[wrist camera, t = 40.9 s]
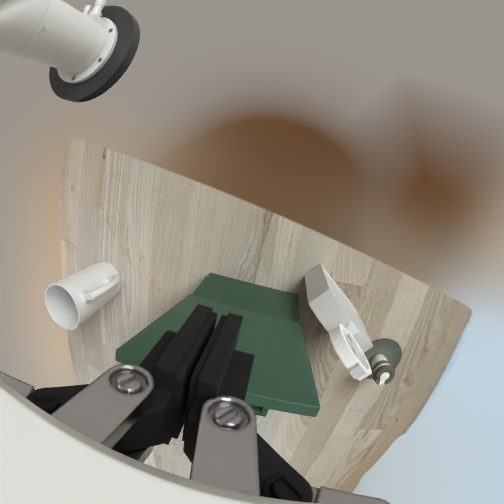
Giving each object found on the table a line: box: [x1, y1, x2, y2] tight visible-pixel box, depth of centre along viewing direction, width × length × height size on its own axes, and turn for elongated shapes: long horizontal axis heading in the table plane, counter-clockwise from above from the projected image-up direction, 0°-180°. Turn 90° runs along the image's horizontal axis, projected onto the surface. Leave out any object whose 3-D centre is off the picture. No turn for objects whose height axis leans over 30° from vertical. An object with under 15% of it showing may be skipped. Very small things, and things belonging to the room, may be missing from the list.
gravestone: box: [305, 264, 373, 381], centre depth 31 cm, size 3×9×18 cm, turn 40°
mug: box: [45, 261, 122, 330], centre depth 38 cm, size 10×7×12 cm, turn 108°
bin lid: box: [116, 295, 320, 417], centre depth 24 cm, size 16×13×1 cm
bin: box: [192, 273, 299, 417], centre depth 38 cm, size 16×13×9 cm
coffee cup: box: [364, 339, 402, 385], centre depth 39 cm, size 12×12×5 cm
